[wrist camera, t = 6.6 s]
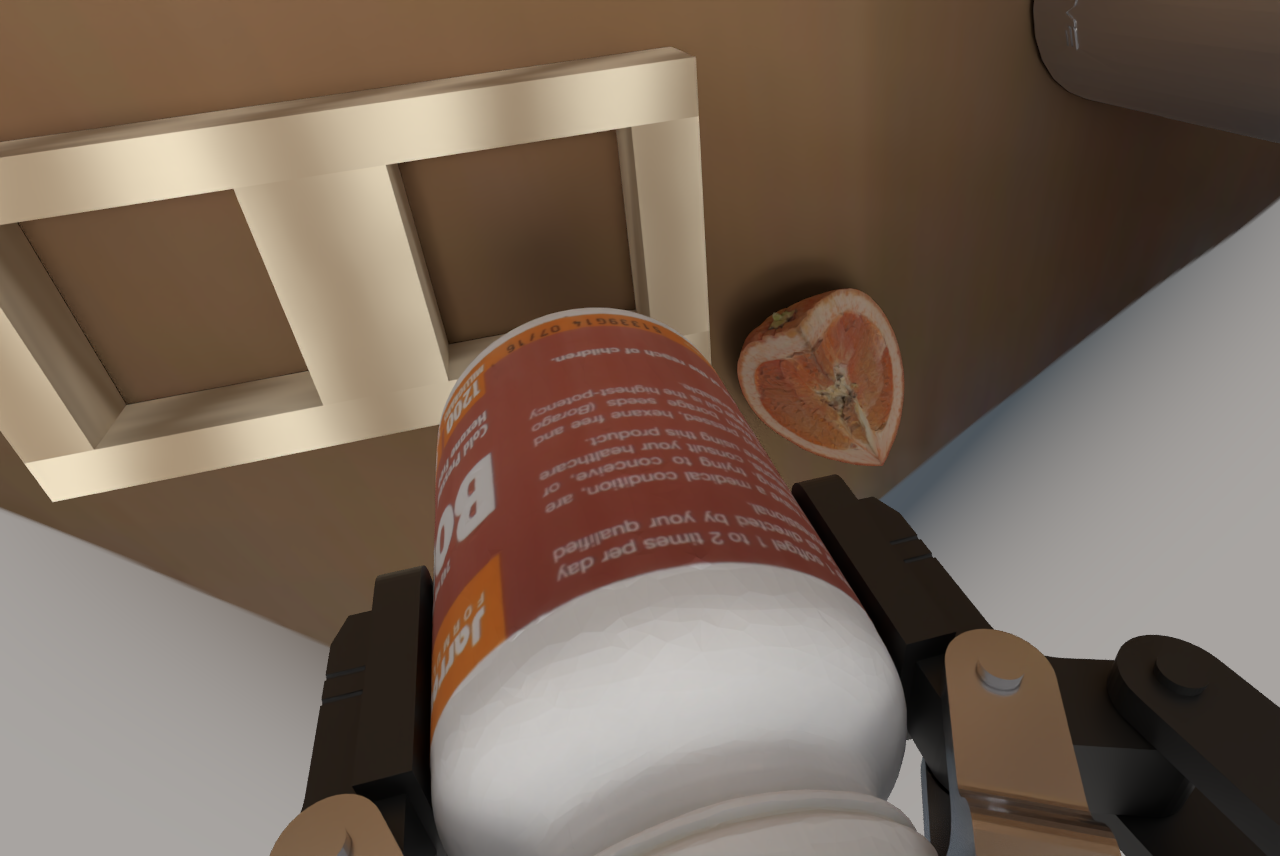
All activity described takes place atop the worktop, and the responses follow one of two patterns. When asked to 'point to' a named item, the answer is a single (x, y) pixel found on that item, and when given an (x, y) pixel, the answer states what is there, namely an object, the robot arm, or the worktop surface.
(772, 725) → the pill bottle
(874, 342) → the fruit slice
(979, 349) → the worktop surface
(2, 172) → the rail
